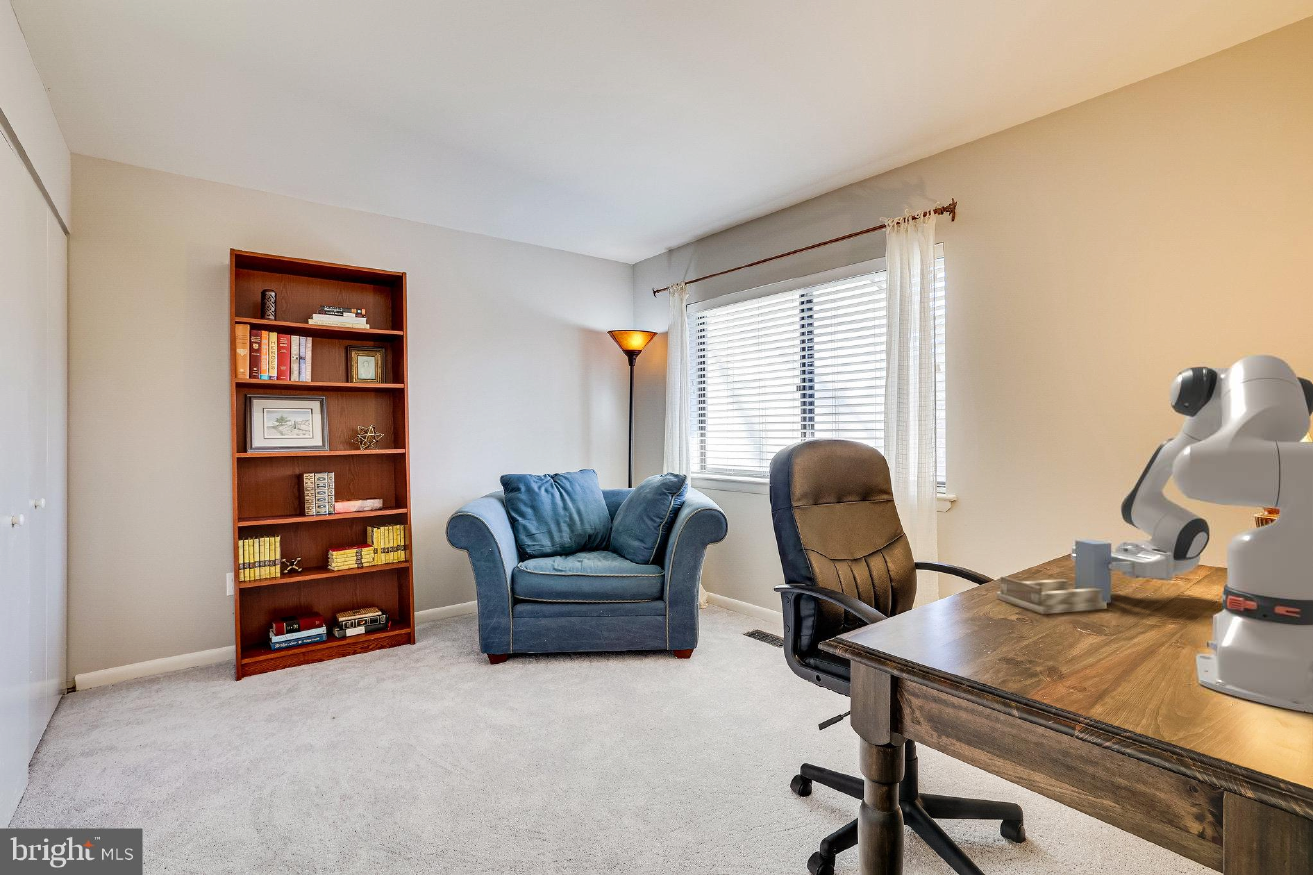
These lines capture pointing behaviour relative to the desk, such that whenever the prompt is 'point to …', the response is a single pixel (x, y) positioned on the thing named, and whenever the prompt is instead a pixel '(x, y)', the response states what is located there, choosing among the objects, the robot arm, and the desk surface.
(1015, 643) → the desk surface
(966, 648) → the desk surface
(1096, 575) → the slate block
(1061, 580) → the shallow wooden tray
